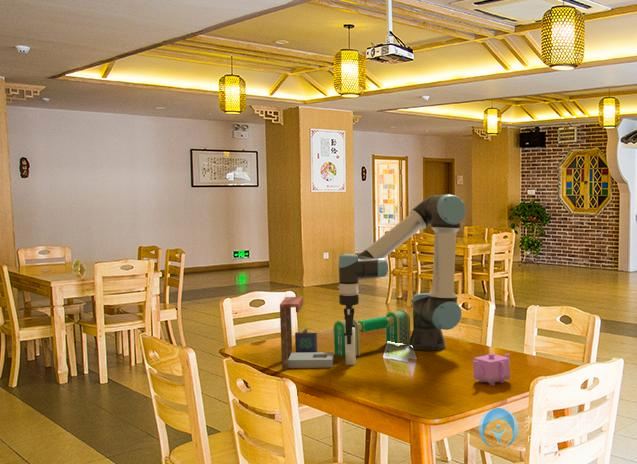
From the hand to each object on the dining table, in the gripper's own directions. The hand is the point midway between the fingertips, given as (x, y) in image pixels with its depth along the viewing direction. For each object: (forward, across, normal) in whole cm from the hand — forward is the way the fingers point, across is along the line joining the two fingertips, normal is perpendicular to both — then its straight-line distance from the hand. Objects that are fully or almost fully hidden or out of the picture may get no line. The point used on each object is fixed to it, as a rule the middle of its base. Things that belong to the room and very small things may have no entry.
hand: (349, 348), depth 262 cm
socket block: (+6, -1, -15) cm, 16 cm away
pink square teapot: (+6, +26, +49) cm, 56 cm away
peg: (+6, 0, 0) cm, 6 cm away
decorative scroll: (+6, -24, +9) cm, 27 cm away
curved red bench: (+6, -1, -22) cm, 23 cm away
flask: (+7, -18, -19) cm, 27 cm away
